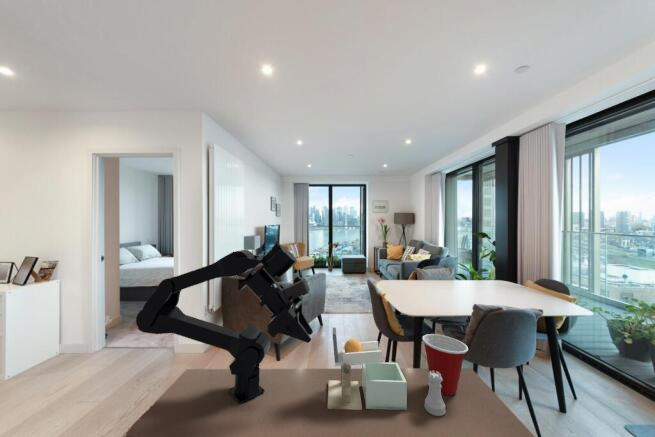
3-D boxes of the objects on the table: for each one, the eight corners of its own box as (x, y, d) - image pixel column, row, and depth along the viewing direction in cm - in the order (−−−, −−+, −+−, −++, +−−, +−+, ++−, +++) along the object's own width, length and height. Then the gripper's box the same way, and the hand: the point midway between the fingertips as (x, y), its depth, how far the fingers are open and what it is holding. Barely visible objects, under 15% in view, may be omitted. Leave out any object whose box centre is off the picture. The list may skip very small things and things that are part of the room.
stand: (327, 409, 59) (328, 367, 60) (328, 383, 70) (329, 347, 70) (361, 410, 59) (362, 368, 60) (357, 384, 69) (358, 348, 70)
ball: (343, 358, 65) (339, 342, 65) (354, 351, 68) (350, 335, 68) (355, 361, 62) (351, 344, 62) (366, 353, 65) (362, 337, 65)
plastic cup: (475, 405, 62) (474, 352, 62) (425, 398, 64) (425, 347, 64) (461, 380, 72) (461, 335, 73) (419, 375, 74) (419, 331, 75)
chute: (335, 366, 62) (332, 335, 62) (335, 354, 68) (332, 326, 68) (382, 362, 62) (380, 331, 62) (378, 351, 68) (376, 323, 68)
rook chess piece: (436, 419, 57) (436, 380, 57) (419, 407, 61) (419, 371, 61) (450, 413, 59) (450, 376, 59) (433, 401, 63) (433, 366, 63)
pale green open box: (366, 408, 60) (366, 380, 60) (361, 385, 69) (362, 361, 69) (406, 410, 60) (406, 382, 60) (397, 386, 69) (397, 362, 69)
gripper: (283, 273, 57) (334, 327, 56) (296, 263, 76) (334, 304, 75) (245, 309, 57) (296, 364, 56) (267, 290, 76) (305, 331, 75)
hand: (310, 337), depth 65 cm, fingers open, 5 cm apart
